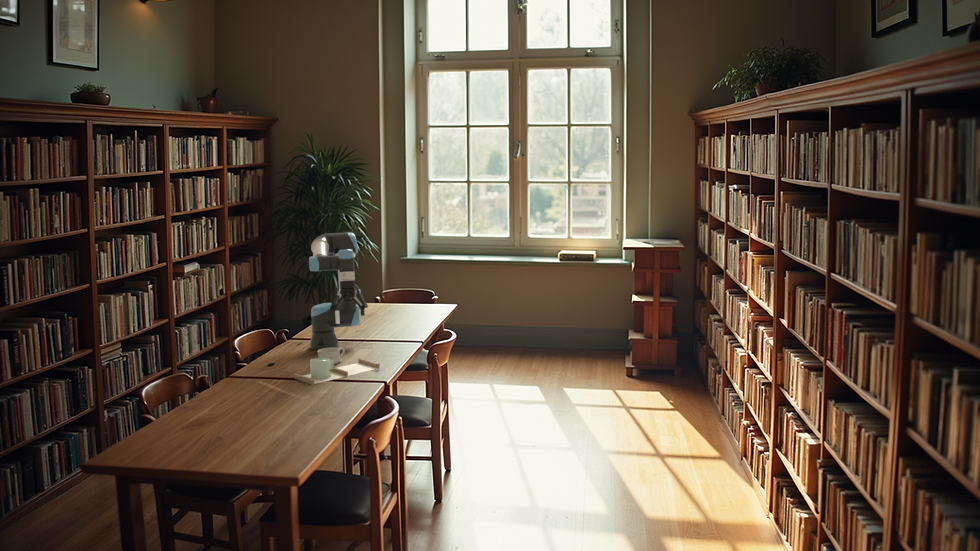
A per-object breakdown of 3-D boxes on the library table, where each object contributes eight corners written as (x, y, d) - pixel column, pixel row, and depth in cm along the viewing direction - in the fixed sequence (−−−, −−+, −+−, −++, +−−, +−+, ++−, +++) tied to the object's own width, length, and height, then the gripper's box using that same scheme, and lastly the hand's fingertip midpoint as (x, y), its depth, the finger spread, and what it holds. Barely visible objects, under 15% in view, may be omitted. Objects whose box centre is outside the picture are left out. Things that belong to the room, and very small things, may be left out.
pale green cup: (307, 377, 387) (306, 360, 386) (328, 372, 395) (327, 355, 394) (317, 380, 381) (316, 363, 380) (339, 375, 389) (338, 358, 388)
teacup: (321, 369, 405) (320, 353, 403) (315, 364, 414) (314, 348, 413) (349, 365, 411) (348, 349, 410) (342, 360, 420) (341, 344, 419)
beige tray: (293, 380, 387) (293, 373, 386) (360, 364, 412) (359, 358, 411) (312, 386, 375) (312, 380, 375) (379, 370, 400) (379, 363, 400)
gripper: (321, 282, 418) (324, 324, 417) (365, 278, 409) (367, 322, 408) (329, 282, 425) (332, 323, 424) (373, 278, 416) (375, 321, 415)
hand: (349, 323), depth 416 cm, fingers open, 13 cm apart
